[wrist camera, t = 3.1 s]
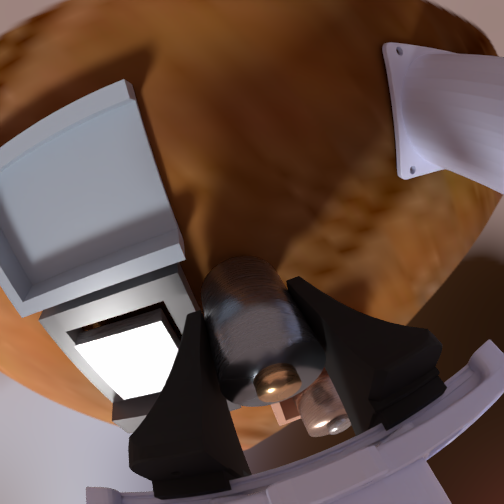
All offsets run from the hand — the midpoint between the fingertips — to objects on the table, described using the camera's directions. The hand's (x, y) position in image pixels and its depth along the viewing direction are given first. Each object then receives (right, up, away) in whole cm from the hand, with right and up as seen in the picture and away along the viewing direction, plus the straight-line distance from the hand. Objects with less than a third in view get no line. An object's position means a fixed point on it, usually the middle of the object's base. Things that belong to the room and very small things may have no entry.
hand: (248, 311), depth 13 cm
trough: (-8, +5, -2) cm, 10 cm away
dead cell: (+4, -6, +7) cm, 10 cm away
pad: (-6, -3, +2) cm, 7 cm away
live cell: (0, +1, +1) cm, 2 cm away
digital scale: (-6, -3, +3) cm, 8 cm away
